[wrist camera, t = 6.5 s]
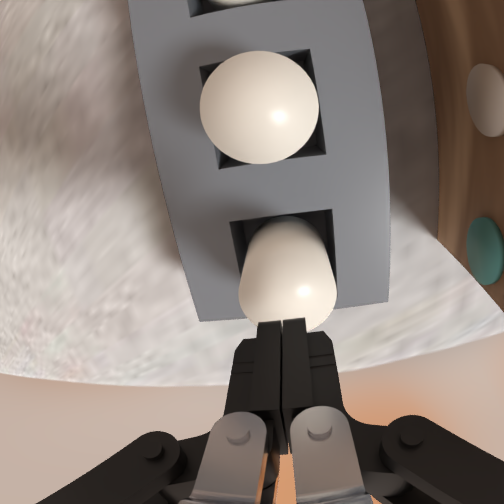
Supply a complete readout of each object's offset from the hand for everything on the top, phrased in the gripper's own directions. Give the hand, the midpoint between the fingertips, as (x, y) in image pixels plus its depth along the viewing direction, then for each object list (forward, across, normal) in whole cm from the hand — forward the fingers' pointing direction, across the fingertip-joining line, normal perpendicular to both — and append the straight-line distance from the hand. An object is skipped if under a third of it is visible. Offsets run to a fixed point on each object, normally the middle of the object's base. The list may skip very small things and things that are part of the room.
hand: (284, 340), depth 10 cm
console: (+10, 0, -7) cm, 12 cm away
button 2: (+6, 0, -7) cm, 10 cm away
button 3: (+6, 0, 0) cm, 6 cm away
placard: (+10, -11, -7) cm, 16 cm away
